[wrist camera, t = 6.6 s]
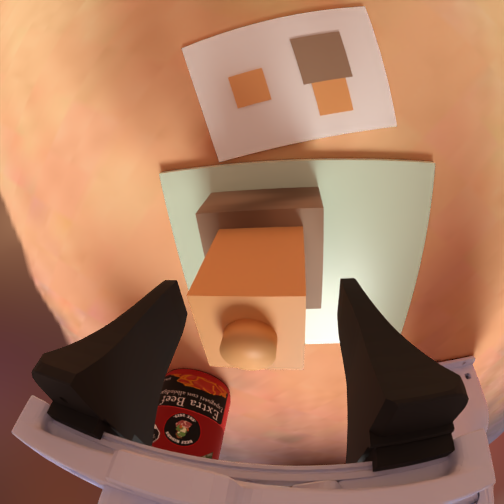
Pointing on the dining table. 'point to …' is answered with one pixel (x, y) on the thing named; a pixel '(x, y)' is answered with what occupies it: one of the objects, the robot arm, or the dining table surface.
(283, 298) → the brick
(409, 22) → the dining table surface
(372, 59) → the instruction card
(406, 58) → the dining table surface
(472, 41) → the dining table surface
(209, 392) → the canned food
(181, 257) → the board
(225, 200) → the base block
